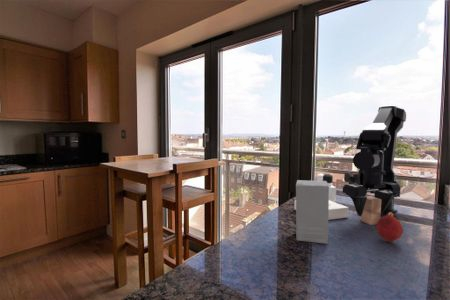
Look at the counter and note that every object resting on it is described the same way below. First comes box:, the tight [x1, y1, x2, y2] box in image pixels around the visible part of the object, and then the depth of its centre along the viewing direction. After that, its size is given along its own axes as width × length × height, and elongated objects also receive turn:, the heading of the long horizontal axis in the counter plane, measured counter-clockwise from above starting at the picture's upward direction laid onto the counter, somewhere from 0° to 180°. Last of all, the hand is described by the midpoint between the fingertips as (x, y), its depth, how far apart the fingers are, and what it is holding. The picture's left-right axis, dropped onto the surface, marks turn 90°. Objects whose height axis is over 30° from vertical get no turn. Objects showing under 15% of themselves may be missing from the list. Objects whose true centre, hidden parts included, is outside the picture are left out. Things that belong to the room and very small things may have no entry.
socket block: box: [293, 199, 350, 221], centre depth 86 cm, size 13×13×4 cm
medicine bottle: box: [316, 173, 337, 203], centre depth 101 cm, size 7×7×12 cm
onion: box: [375, 212, 404, 243], centre depth 63 cm, size 6×6×8 cm
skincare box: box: [295, 179, 329, 245], centre depth 65 cm, size 8×7×16 cm
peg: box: [359, 195, 381, 226], centre depth 78 cm, size 4×4×8 cm
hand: (370, 214), depth 78 cm, fingers open, 9 cm apart
